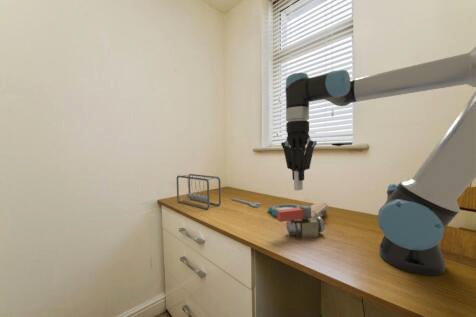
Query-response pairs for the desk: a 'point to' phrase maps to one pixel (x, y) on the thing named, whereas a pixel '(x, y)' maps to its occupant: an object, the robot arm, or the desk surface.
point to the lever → (294, 213)
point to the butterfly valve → (316, 209)
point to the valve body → (306, 227)
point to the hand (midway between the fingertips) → (298, 189)
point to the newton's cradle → (197, 197)
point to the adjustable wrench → (252, 204)
